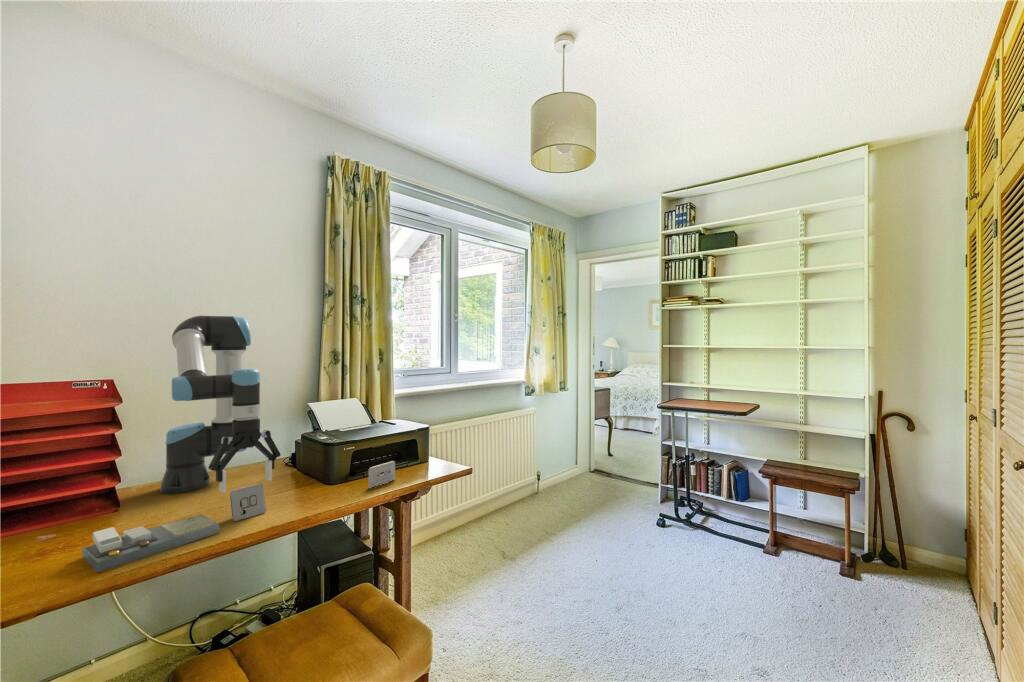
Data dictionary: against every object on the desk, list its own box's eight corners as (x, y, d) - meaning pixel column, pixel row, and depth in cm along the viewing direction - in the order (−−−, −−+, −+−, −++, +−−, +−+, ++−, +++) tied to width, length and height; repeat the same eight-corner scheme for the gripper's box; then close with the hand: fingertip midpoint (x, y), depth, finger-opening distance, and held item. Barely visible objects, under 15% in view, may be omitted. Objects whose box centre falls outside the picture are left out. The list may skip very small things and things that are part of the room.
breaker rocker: (92, 538, 112) (93, 531, 111) (113, 533, 115) (113, 526, 115) (100, 553, 108) (101, 546, 108) (121, 546, 111) (122, 539, 111)
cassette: (392, 479, 174) (392, 460, 174) (396, 480, 173) (396, 461, 173) (367, 488, 164) (367, 467, 164) (370, 489, 163) (370, 468, 163)
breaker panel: (82, 557, 112) (82, 540, 112) (200, 522, 133) (200, 507, 133) (97, 572, 104) (97, 554, 104) (219, 533, 126) (219, 517, 126)
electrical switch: (233, 522, 133) (232, 491, 134) (227, 519, 136) (226, 489, 137) (266, 513, 140) (265, 483, 141) (259, 510, 144) (258, 482, 144)
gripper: (206, 425, 126) (206, 499, 126) (291, 413, 146) (291, 477, 146) (195, 423, 130) (195, 495, 130) (279, 412, 151) (279, 474, 150)
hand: (246, 485), depth 138 cm, fingers open, 13 cm apart
